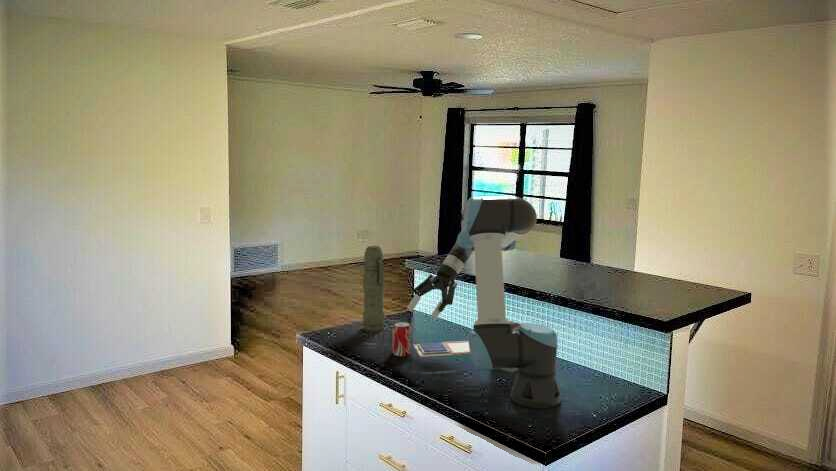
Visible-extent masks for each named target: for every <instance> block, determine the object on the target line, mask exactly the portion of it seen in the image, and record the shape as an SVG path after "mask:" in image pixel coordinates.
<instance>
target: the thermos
mask: <svg viewBox="0 0 836 471" xmlns="http://www.w3.org/2000/svg"><path fill="white" fill-rule="evenodd" d="M383 255H384V254H383V251H382V247H380V246H378V245H377V246H376V245H370V246H367V247H366V248H365V252H364V256H363V257H364V259H363V260H364V267H363V268H364V271H363V276H362V287H363V288H362V289H363V291H364V292H363V293H364V294H363V295H364V296H363V297H364V298H363V299H364V300H363V302H364V308H363V309H364V310H363V312H362V314H363V315H362V323H363V330H364V331H366V332H372V333H376V332H381V331H384V330H385V311H384V289H385V274H384V260H383V259H384V256H383Z"/></svg>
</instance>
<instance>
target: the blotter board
mask: <svg viewBox="0 0 836 471" xmlns="http://www.w3.org/2000/svg"><path fill="white" fill-rule="evenodd" d="M418 344H419V343H416V344H415V343H413V344H412V345H413V347H414V349H415V350H416V352H417V354H418V355H419V356H420V357H421V358H423V357H425V358H426V357H439V356H453V355H458V354H451V352H450V353H440V354H424V355H423V353H422V352H421V350H420V348H419V347H418ZM466 354H467V355H471V354H470V353H463V354H462V355H466Z"/></svg>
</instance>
